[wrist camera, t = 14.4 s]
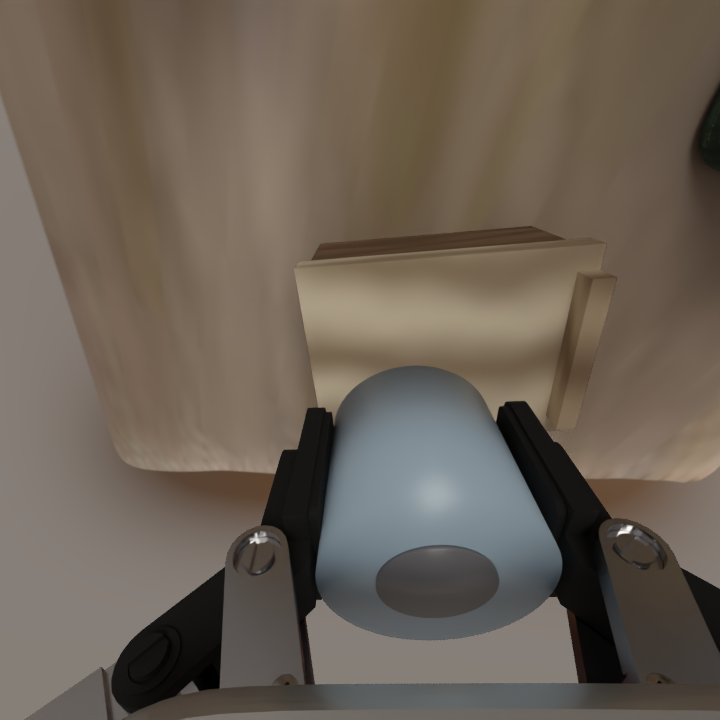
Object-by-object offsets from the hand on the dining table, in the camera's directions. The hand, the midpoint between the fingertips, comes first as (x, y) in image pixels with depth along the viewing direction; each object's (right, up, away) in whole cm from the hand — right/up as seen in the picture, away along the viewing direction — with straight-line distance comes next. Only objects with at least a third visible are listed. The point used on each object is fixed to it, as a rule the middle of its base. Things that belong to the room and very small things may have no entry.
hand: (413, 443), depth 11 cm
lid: (+4, +4, +12) cm, 13 cm away
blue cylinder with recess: (0, 0, 0) cm, 1 cm away
